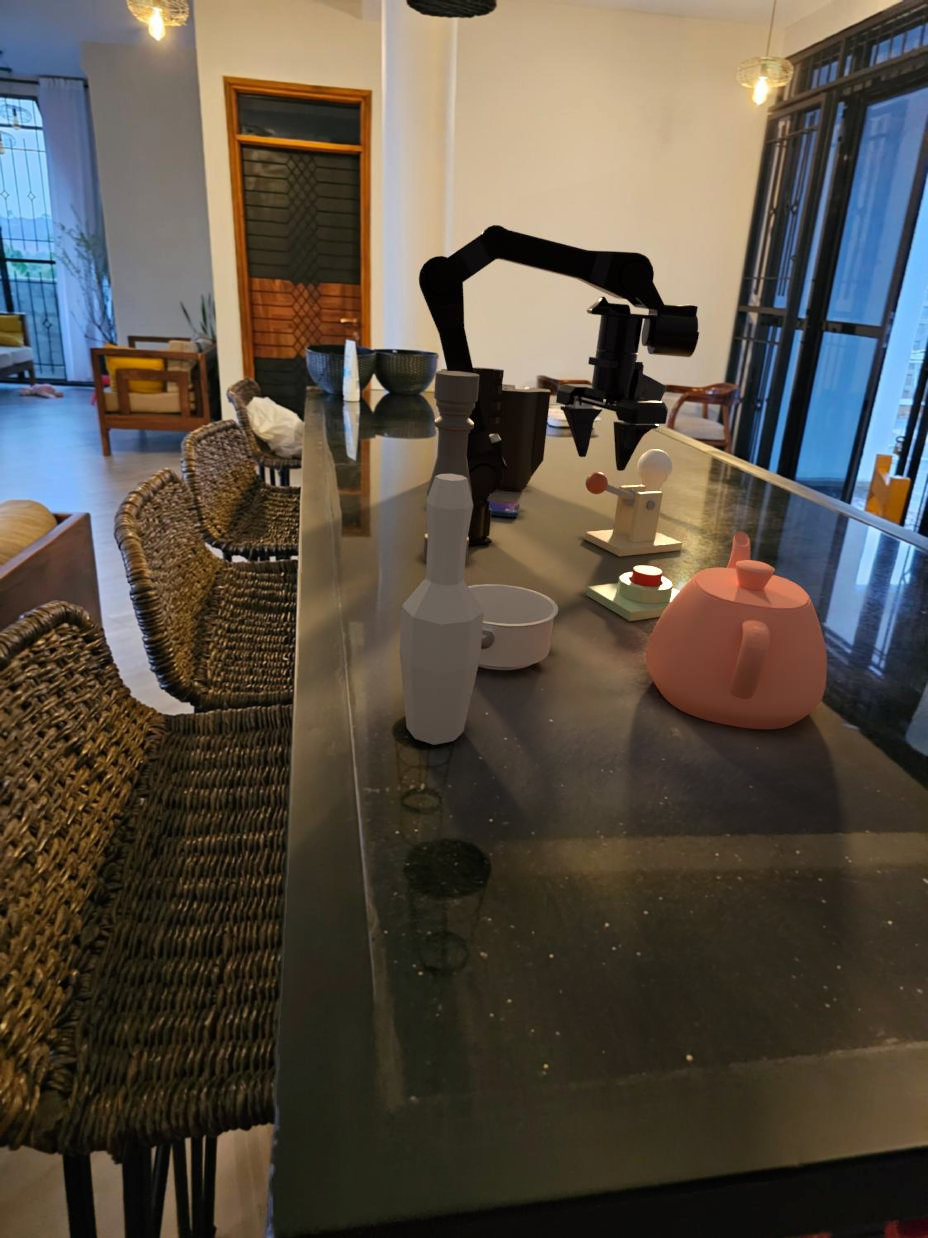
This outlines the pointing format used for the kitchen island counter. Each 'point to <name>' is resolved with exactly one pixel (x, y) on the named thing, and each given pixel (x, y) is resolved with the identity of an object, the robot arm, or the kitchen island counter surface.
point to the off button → (646, 576)
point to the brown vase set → (514, 424)
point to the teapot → (740, 646)
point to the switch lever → (607, 487)
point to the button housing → (634, 597)
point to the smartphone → (504, 508)
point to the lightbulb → (654, 469)
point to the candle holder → (453, 426)
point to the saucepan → (514, 626)
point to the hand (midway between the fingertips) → (600, 463)
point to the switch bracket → (635, 526)
